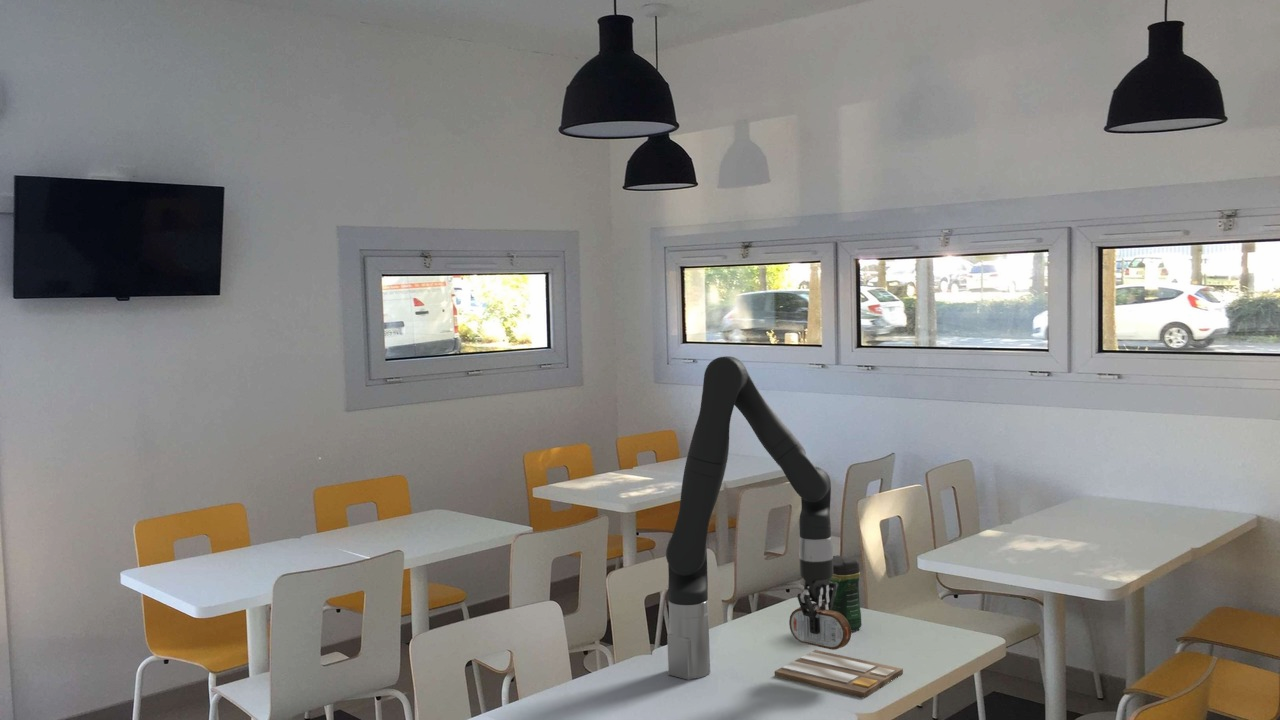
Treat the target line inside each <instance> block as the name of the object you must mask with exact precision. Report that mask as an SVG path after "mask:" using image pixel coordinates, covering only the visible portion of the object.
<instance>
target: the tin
mask: <svg viewBox="0 0 1280 720" xmlns="http://www.w3.org/2000/svg"><path fill="white" fill-rule="evenodd" d="M813 609H814V612H815V607H813ZM788 621H789V622H788V623H789V629H790V630H789V631H790V632H791V634H792V636H793V637H794V638H795V639H796V640H797V641H798V642H800V643H802V644H806V645H810V646H814V647H818V648H823V649H828V650H832V651H834V650H838V649H841V648H843V647H845V646H847V645H848V643H849V642H850V641H851V637H852V631H851V627H850V624H849V622H848V620H847V619H846V618H845V617H844V616H843V615H842V614H841V613H839V612H836V611H831V610H827V609H822V608H819V622H820V633H818V634H813V633H811V632H810V625H809V617H808V616H804V615H803V613H802V610H801V607H798V608H796V609H794V611H792V612H791V614H790V616H789V620H788Z"/></svg>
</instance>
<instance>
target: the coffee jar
mask: <svg viewBox="0 0 1280 720" xmlns="http://www.w3.org/2000/svg"><path fill="white" fill-rule="evenodd" d="M860 570H861V568H860V563H859V562H858V561H857V560H855V559H851V558H847V557H844V556H840V555H838V554H837V555H833V577H832V578H830V579H829V580H830V582H832V583H836V591H835V596H834V602H833V607H832V609H829V610H831V611H836V612H839V613H841V614H842V615H843V616H844V617H845V618H846V619H847V620H848V622H849V624H850V627H851V632H854V631H856V630H858V629H860V628H861V627H862V611H861V601H860V587H859V586H860V585H859V584H860V577H861V571H860ZM829 599H830V598H829Z"/></svg>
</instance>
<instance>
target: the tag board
mask: <svg viewBox="0 0 1280 720" xmlns="http://www.w3.org/2000/svg"><path fill="white" fill-rule="evenodd" d="M903 669H904V668H901V667H897V666H892V665H887V664H882V663H878V662H874V661H868V660H863V659H860V658H854V657H850V656H845V655H840V654H837V653H831V652H826V651H822V650H818V649H814V650H812V651H811V652H809V653H806V654H805V655H803V656H801V657H799V658H797V659H795V660H794V661H791V662H790V663H788V664H786V665H784V666H782V667H779V668H778V669H776V670H774V677H776V678H780V679H783V680H789V681H792V682H797V683H801V684H805V685H809V686H814V687H817V688H820V689H821V688H822V689H826V690H828V691H829V690H830V691H833V692H837V693H842V694H846V695H851V696H853V697H854V696H855V697H857V698H863V699H865V698H867V697H869V696H871V695H872V694H873V693H875V692H876V691H878V690H880V689H881V688H883V687H885V686H886V685H888V684H889V683H891V682H892V681H894V680H895V678H896V677H897V678H899V677H900V676H902V675H903V674H904V670H903ZM901 674H902V675H901ZM899 675H900V676H899ZM898 676H899V677H898ZM897 678H896V679H897ZM893 679H894V680H893ZM891 680H892V681H891ZM890 681H891V682H890ZM888 682H889V683H888ZM887 683H888V684H887ZM885 684H886V685H885ZM882 686H883V687H882ZM880 687H881V688H880ZM879 688H880V689H879Z"/></svg>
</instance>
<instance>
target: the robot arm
mask: <svg viewBox="0 0 1280 720" xmlns="http://www.w3.org/2000/svg"><path fill="white" fill-rule="evenodd" d="M734 408H737V410H739V412H740V413H741V414H742V416H743V417H744V418H745V420H746V421H747V423H748V424H749V426H750V428H751V429H752V431H753V432H754V434H755V436H756V437H757V439H758V441H759V442H760V444H761V445H762V447H763V448H764V450H766V452H767V453H768V455H770V456H771V458H772V459H773V460H774V462H775V463H776V464H777V466H779V468H780V469H781V470H782V471H783V474H784V475H785V477H786V478H787V481H788V482H789V484H790V485H791V486H792V488H793V490H794V491H795V492H796V494H797V495H798V497H800V499H801V504H800V505H801V511H800V513H799V514H800V515H799V519H798V520H799V521H798V522H799V527H798V528H799V544H798V553H799V557H798V558H799V575H800V577H801V578H802V579H804V586H803V587H804V588H803V590H804V591H803V592H802V593H798V594H797V596H796V597H797V600H798V603H799V604H798V605H799V606H800V607H801V610H802V613H803V615H804V616H808V617H809V625H810V632H811V633H813V634H818V633H820V622H819V608H822V609H827V610H829V609H832V607H833V602H834V596H835V591H836V583H832V582H830V580H829V579H830V578H832V577H833V556H834V550H833V542H832V529H831V528H832V527H831V524H832V523H831V516H830V515H831V514H830V509H831V500H832V499H831V495H832V494H831V493H832V484H831V479H830V476H829V474H828V472H827V471H826V470H825V469H824V468H821V467H819V466H814V464H813V463H812V462H811V460H810V459H809V458H808V456H807V453H806V449H805V448H804V447H803V445H802V444H801V442H800V441H799V440H798V438H797V437H796V436H795V435H794V434H793V433H792V431H791V430H790V429H789V428H788V426H787V425H786V424H785V423H784V422H783V421H782V419H781V418H780V417H779V416H778V414H776V412H775V411H774V410H773V408H771V406H770V405H769V404H768V402H767V401H766V400H765V398H764V396H763V395H762V394H761V392H760V391H759V389H758V388H757V386H756V385H755V383H754V380H752V378H751V375H750V374H749V372H748V370H747V368H746V366H745V364H744V363H743V361H741V360H740V359H738V358H737V357H734V356H727V355H726V356H719V357H716V358H714V359H712V361H710V362H709V363H708V365H707V366H706V368H705V370H704V376H703V384H702V393H701V401H700V407H699V413H698V417H697V420H696V423H695V427H694V431H693V434H692V437H691V441H690V445H689V449H688V452H687V457H686V460H685V465H684V470H683V477H682V483H681V490H680V500H679V501H680V502H679V509H678V514H677V519H676V522H675V526H674V529H673V532H672V535H671V536H670V539H669V540H668V544H667V546H666V550H665V558H666V562H667V564H668V565H667V568H668V570H667V571H668V585H667V597H668V619H669V620H668V624H669V626H668V628H669V634H667V636H666V637H667V666H668V667H667V668H668V675H669V676H673V677H677V678H680V679H683V680H688V681H690V680H692V679H700V678H703V677H706V676H708V675H709V674H710V673H711V658H710V656H711V652H710V651H711V650H710V649H711V648H710V627H709V626H710V625H709V624H710V623H709V621H710V620H709V598H708V597H709V596H708V595H709V593H708V590H709V580H708V579H709V578H708V551H707V550H708V549H707V541H708V540H707V539H708V538H707V537H708V532H709V526H710V521H711V517H712V513H713V511H714V508H715V505H716V503H717V500H718V497H719V494H720V491H721V487H722V485H723V480H724V477H725V473H726V468H727V463H728V457H729V451H730V450H729V448H730V425H731V419H732V414H733V411H734ZM829 598H830V599H829ZM800 607H799V608H800ZM813 607H815V612H814V609H813Z"/></svg>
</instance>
